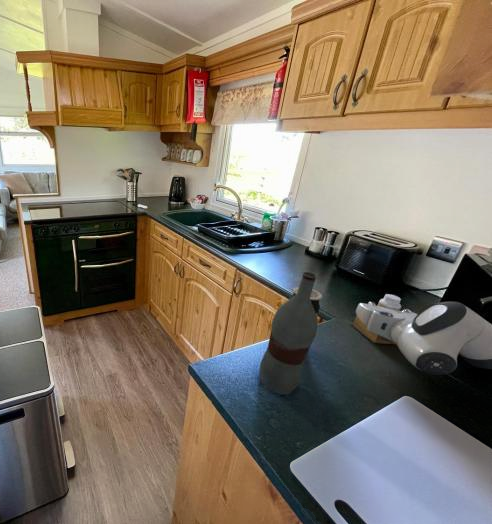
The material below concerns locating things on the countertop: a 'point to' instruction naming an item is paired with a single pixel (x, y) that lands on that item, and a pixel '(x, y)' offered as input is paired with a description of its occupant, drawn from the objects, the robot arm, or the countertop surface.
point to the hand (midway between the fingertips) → (387, 307)
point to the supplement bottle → (390, 302)
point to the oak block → (370, 335)
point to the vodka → (290, 340)
